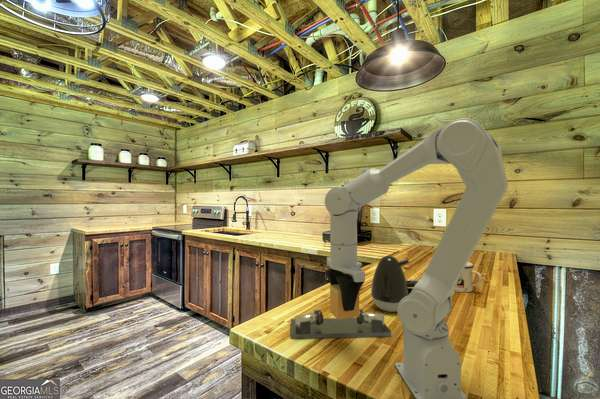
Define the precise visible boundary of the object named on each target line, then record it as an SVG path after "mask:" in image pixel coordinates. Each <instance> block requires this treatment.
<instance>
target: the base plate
mask: <svg viewBox="0 0 600 399" xmlns="http://www.w3.org/2000/svg"><path fill="white" fill-rule="evenodd" d="M385 337H386V338H387V337H392V331H391V330H390V328H389V327H388V326H387V324H386V323H385V322H384V325H383V333H376V332H372V324H370V323H363V322H362V324H357V317H354V318H347V319H340V320H338V319H337V318H336V317H331V318H330V317H326V318H324V317H323V324H321V325H316V324H311V325H310V333H309V334H304V335H300V334H299V333H298V331H297V330H296V323H295V318H291V319H290V339H291V340H294V339H295V340H297V339H298V340H299V339H300V340H302V339H345V338H348V339H349V338H385Z"/></svg>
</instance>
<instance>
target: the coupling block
mask: <svg viewBox="0 0 600 399" xmlns="http://www.w3.org/2000/svg"><path fill="white" fill-rule="evenodd" d="M329 296H330V297H329V307H330V308H329V312H330V313H331V315H332V316H333V317H334V318H337V319H338V320H340V319H347V318H357V317H359V309H360V292H359V293H358V296H357V299H356V303H355V307H354V310H351V311H344V309H343V304H342V295H341V290H340V287H339V284H337V285H330V284H329Z"/></svg>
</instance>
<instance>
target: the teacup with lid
mask: <svg viewBox="0 0 600 399" xmlns="http://www.w3.org/2000/svg"><path fill="white" fill-rule="evenodd" d="M474 274H475V275H477V276H478V281H477V282H476V283H474V280H473V279H474V278H473V277H474ZM482 281H483V276H482V274H481V273H480V272H479V271H477V270H474V264H473V263H472V262H470V261H468V262H467V264H466V266H465V268H464V270H463V272H462V273H461V275H460V277H459V279H458V281H457V283H456V285H455V291H454V292H458V293H471V292H473V291H474V286H476V287H477V286H479V285H480V284H481V283H482Z"/></svg>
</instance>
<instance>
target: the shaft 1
mask: <svg viewBox="0 0 600 399" xmlns="http://www.w3.org/2000/svg"><path fill="white" fill-rule="evenodd" d="M323 318H324V315H323V312H322V310H320V309H317V310H314V312H309V313H305V314H300V315H295V316H294V319H295V323H296V330H297V331H298V333H299V334H300V335H304V334H309V333H310V325H311V324H316V325H321V324H323Z"/></svg>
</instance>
